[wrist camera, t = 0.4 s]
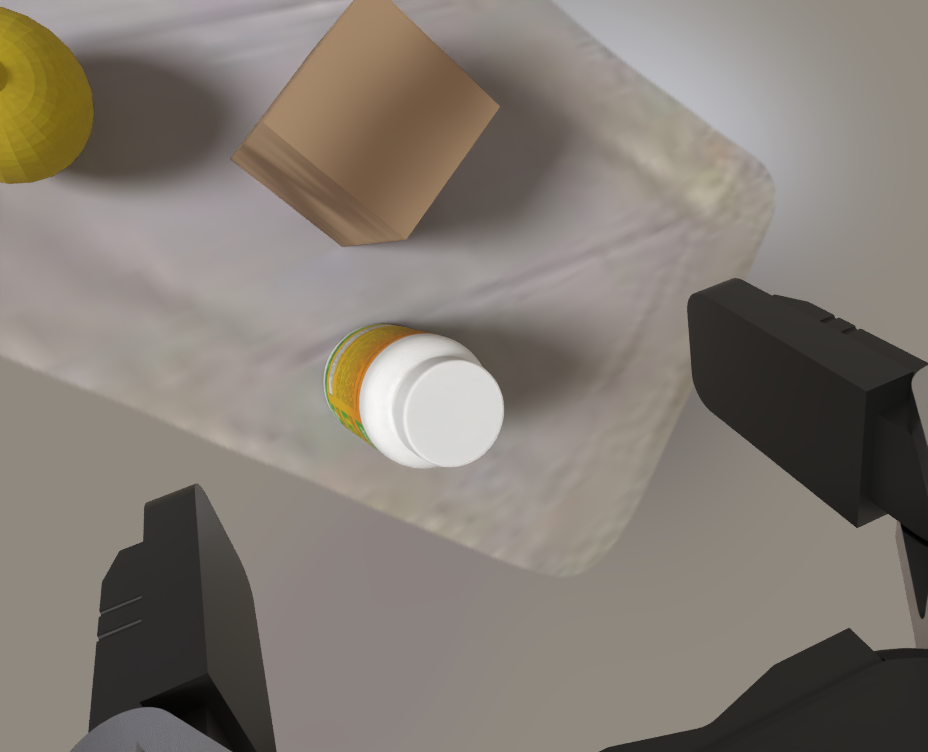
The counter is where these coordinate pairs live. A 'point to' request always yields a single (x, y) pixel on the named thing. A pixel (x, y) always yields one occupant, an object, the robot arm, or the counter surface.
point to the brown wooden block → (367, 127)
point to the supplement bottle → (414, 396)
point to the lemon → (39, 101)
